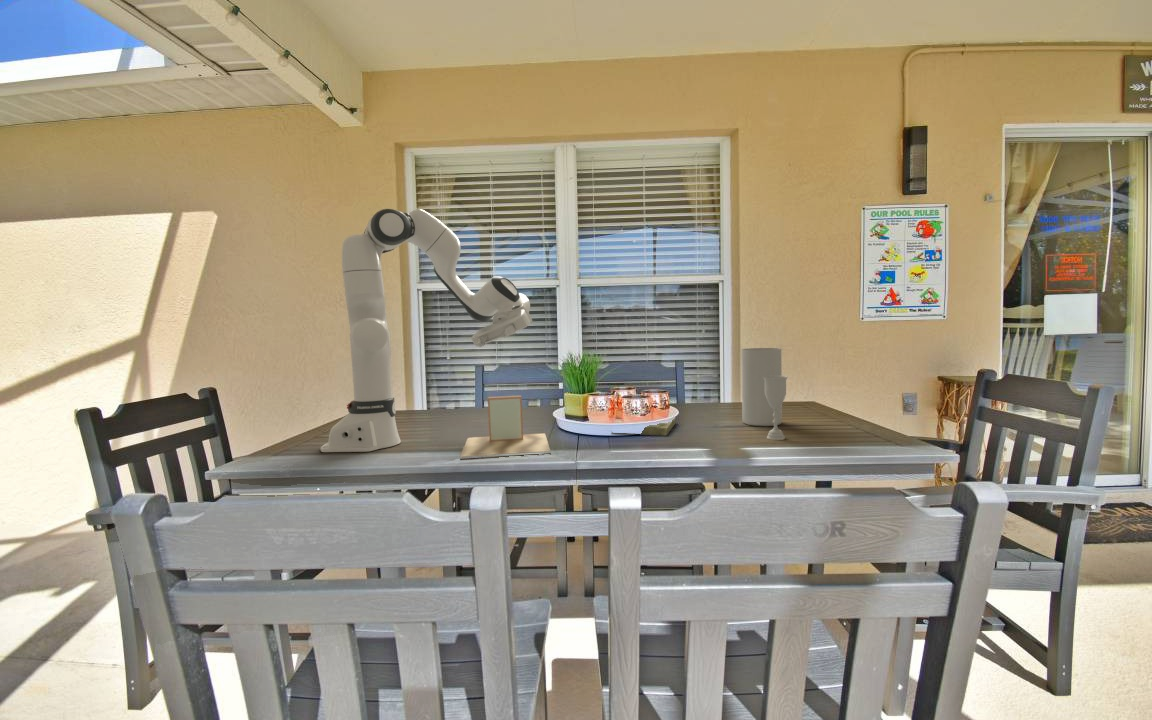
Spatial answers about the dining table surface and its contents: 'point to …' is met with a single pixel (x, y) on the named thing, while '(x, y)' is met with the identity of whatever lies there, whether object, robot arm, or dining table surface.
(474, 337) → the robot arm
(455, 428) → the dining table surface
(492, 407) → the terracotta tile
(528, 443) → the oak board
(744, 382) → the cylinder vase
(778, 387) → the chalice
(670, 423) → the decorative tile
